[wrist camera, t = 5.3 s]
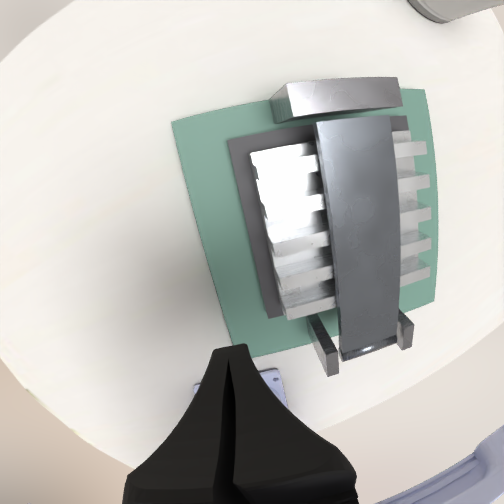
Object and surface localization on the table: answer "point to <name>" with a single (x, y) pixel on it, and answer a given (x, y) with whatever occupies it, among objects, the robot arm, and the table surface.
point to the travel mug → (452, 8)
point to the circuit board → (250, 218)
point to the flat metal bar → (362, 229)
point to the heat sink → (314, 204)
